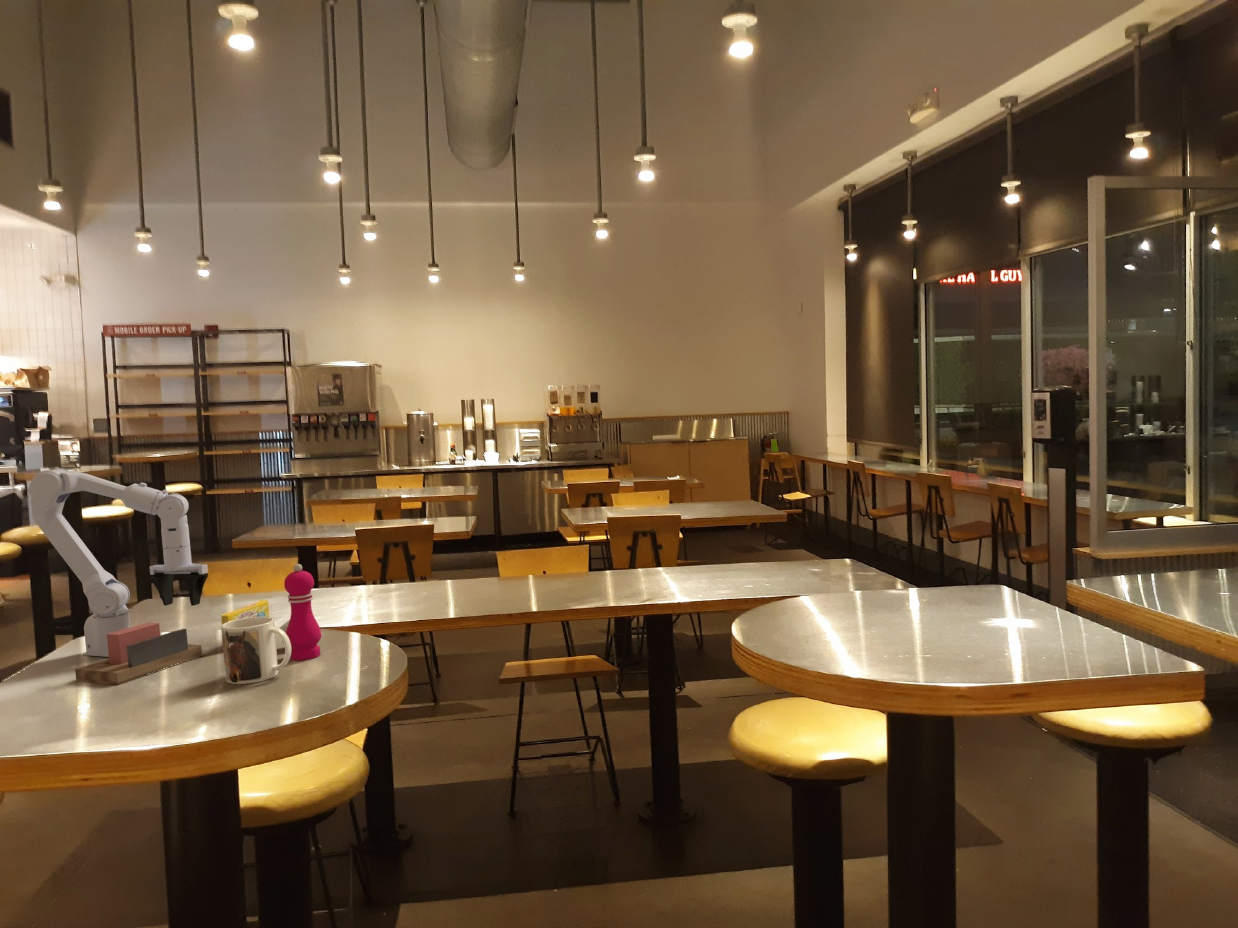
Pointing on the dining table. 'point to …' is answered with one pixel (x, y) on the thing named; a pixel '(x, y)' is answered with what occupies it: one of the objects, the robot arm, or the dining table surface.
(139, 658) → the dark gray flat bar
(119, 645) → the pink rectangular block
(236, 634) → the mug
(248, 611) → the candy box
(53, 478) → the robot arm
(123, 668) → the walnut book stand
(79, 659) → the dining table surface
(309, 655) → the pepper mill
